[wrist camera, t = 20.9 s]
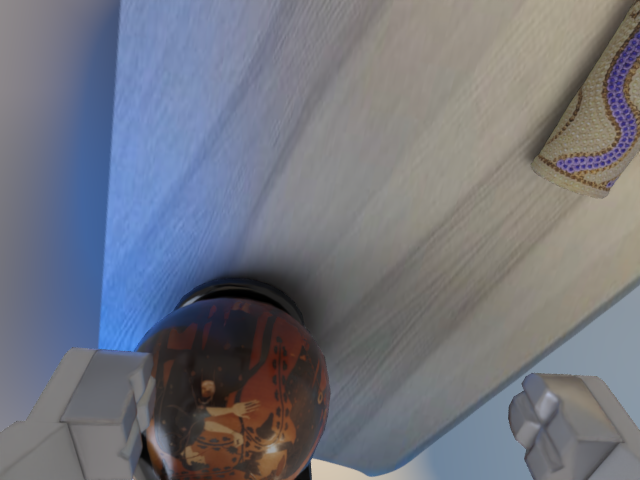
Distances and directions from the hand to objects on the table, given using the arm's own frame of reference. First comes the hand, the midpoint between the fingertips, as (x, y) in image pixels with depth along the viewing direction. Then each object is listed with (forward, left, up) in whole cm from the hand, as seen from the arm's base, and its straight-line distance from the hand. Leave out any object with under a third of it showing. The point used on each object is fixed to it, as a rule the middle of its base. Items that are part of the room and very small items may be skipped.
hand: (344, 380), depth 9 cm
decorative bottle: (+29, +4, -34) cm, 45 cm away
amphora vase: (-5, -32, -34) cm, 47 cm away
